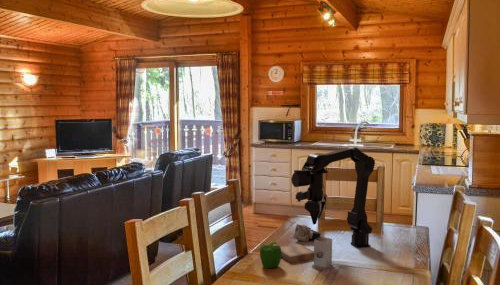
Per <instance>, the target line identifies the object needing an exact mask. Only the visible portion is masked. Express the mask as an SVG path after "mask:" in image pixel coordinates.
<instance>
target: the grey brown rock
mask: <svg viewBox="0 0 500 285" xmlns="http://www.w3.org/2000/svg"><path fill="white" fill-rule="evenodd" d="M295 226H296V227H295V230H294V233H293V239H294V240H298V241H301V242H304V243H308V242H309V239H311V240H312V239H313V240H315V239H317V238H319V237H321V233H320V232H318V231H316V230H314V229H312V228H311V227H309V226H307V225H305V224H296V225H295Z"/></svg>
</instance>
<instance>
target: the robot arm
mask: <svg viewBox="0 0 500 285" xmlns="http://www.w3.org/2000/svg"><path fill="white" fill-rule="evenodd" d="M346 159H350V160H351V161H353V163H354V170H355V172H356V184H355V191H354V192H355V194H354V199H353V207H352V209H351V210H348V211H347V216H346V221H347V224H348V226H349V228H350V230H351V231H352V234H351V242H350V245H353V246H354V247H355V248H367V247H369V248H370V247H371V244H370V242H369V240H370V238H369V236H370V234H372V232H373V228H372V226H371V225H370V224H369V223H368V215H367V212H366V204H367V197H368V196H367V194H368V189H369V188H368V186H369V181H370V176H371V175H372V174H373V172H374V168H375V165H376V160H375V159H374V158H373V157H372V156H370V155H368V154H366V153H365V152H363V151H361V150H360V149H359V148H357V147H353V146H347V147H345V148H341V149H337V150H334V151H330V152H325V153H318V152H317V153H310V154H308V157H307V158H306V161H305V162H304V164H303V166H302V167H301V169H299V170H298V169H294V170H293V173H292V175H291V178H290V179H291V180H290V181H291V185H292V186H293V187H295V188H298V187H307V186H308V188H307V189H304V190H302V191H301V190H300V191H297V192H296V193H295V195H294V196H295V200H296V201H297V202H299V203H300V202H302V201H304V200H307V201H306V202H305V203H304V210H305V211H307V212H308V213H309V215H310V218H311V222H312V225H317V222H318V219H321V216H322V214H323V211H324V209H325V207H326V205H327V202H328V195H327V194H326V193H325V192H324V189H325V186H324V174H328V173H329V172H328V170H326V167H328V166H330V164H333V163H335V162H340V161H342V160H346Z"/></svg>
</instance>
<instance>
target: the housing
mask: <svg viewBox="0 0 500 285" xmlns="http://www.w3.org/2000/svg"><path fill="white" fill-rule="evenodd" d="M313 243H314V244H313V251H314V259H313V265H311V268H312V269H315V270H319V271H324V270H325V271H324V272H327V271H328V269H329V270H330V269H333V268H334V267H335V266H334V264H332V263H333V262H332V261H333V238H329V237H326V236H325V237H324V236H320V237H319V238H317V239H313ZM333 266H334V267H333Z"/></svg>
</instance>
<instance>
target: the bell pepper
mask: <svg viewBox="0 0 500 285" xmlns="http://www.w3.org/2000/svg"><path fill="white" fill-rule="evenodd" d="M277 243H278V242H277V241H272V242H270V243H269V244H262V245H261V246H260V248H259V257H260V261H261V264H262V266H263V268H265V269H273V268H278V267H279V265H280V262H281V259H282V258H281V252H282V251H281V248H280V247H281V246H280V245H277Z"/></svg>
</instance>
